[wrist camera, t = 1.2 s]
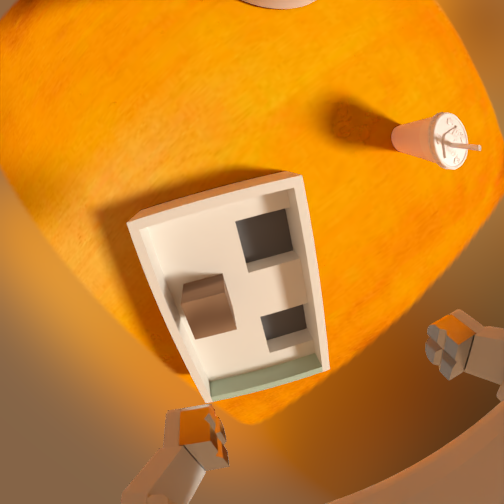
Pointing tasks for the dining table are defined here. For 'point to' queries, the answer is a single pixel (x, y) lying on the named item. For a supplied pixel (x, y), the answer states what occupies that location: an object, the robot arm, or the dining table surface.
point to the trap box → (240, 281)
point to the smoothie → (434, 140)
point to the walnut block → (208, 307)
